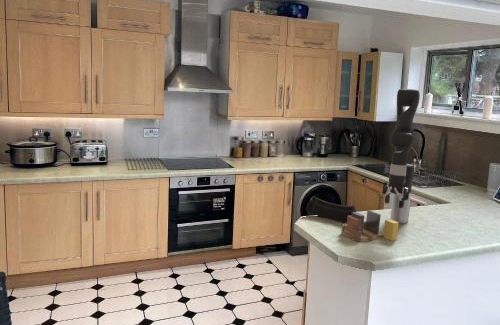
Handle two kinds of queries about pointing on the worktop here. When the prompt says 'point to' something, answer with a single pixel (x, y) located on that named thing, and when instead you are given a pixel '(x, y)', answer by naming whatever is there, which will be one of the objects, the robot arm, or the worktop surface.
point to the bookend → (373, 221)
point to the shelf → (359, 234)
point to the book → (390, 229)
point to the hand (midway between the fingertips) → (393, 205)
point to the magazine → (329, 210)
